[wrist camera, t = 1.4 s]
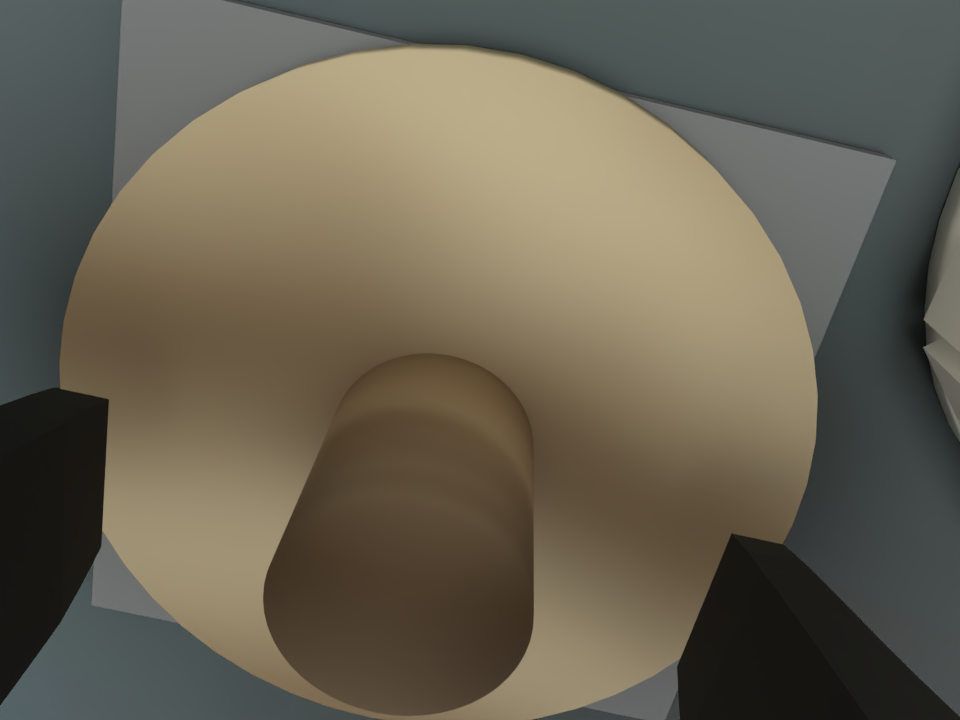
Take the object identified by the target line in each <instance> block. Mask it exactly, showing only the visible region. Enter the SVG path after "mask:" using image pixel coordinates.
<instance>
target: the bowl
mask: <svg viewBox="0 0 960 720" xmlns="http://www.w3.org/2000/svg"><path fill="white" fill-rule="evenodd" d="M923 320H924V321H925V327H926V346H925V347H923V349H924V351H925V353H926V355H927V357H928V359H929V363H930V368H931V373H932V378H933V382H934V387H935V390H936V393H937V396H938V398H939V401H940V403H941V406H942V408H943V411H944V413H945V416H946V419H947V421H948V424H949V425H950V427H951V429H952V430H953V432H954V434H955V435H956V437H957V439H958V440H959V442H960V167H959V169H958V171H957V174H956V176H955V179H954V182H953V184H952V187H951V190H950V192H949V195H948V198H947V200H946V203H945V206H944V208H943V211H942V214H941V216H940V219H939V223H938V228H937V232H936V236H935V240H934V245H933V249H932V253H931V257H930V262H929V267H928V278H927V288H926V299H925V317H924V319H923Z"/></svg>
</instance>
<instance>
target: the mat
mask: <svg viewBox="0 0 960 720" xmlns="http://www.w3.org/2000/svg"><path fill="white" fill-rule="evenodd" d="M405 44H419V43H415V42H411V41H406V40H402V39H398V38H394V37H389V36H385V35H381V34H377V33H373V32H368V31H364V30H360V29H356V28H352V27H347V26H343V25H339V24H335V23H330V22H326V21H322V20H318V19H314V18H309V17H305V16H301V15H297V14H293V13H288V12H284V11H280V10H276V9H272V8H267V7H263V6H259V5H255V4H250V3H246V2H242V1H238V0H122V10H121V30H120V50H119V70H118V90H117V110H116V130H115V149H114V169H113V189H112V203H113V202H114V200H115V198H116V197H117V195H118V194H119V192H120V191H121V190H122V189H123V187H124V186H125V185H126V184H127V183H128V182H129V181H130V180H131V178H132V177H133V176H134V175H135V174H136V173H137V172H138V170H139V169H140V168H141V167H142V166H143V165H144V164H145V162H146V161H147V160H148V159H149V158H150V157H151V156H152V154H154V153H155V152H156V151H157V150H158V149H160V148H161V147H162V146H163V145H164V144H165V143H167V142H168V141H169V140H170V139H171V138H173V137H174V136H175V135H176V134H177V133H179V132H180V131H181V130H182V129H183V128H185V127H186V126H187V125H188V124H189V123H191V122H192V121H193V120H195V119H196V118H198V117H200V116H201V115H203V114H205V113H206V112H208V111H210V110H211V109H213V108H215V107H216V106H218V105H220V104H221V103H223V102H225V101H226V100H228V99H229V98H231V97H233V96H234V95H236V94H238V93H240V92H242V91H244V90H246V89H249V88H251V87H253V86H255V85H257V84H260V83H262V82H264V81H267V80H269V79H271V78H274V77H276V76H279V75H281V74H283V73H286V72H288V71H290V70H293V69H295V68H298V67H300V66H302V65H305V64H307V63H310V62H314V61H318V60H322V59H325V58H329V57H333V56H337V55H341V54H345V53H349V52H352V51H356V50H361V49H370V48H378V47H387V46H396V45H405ZM616 91H617V90H616ZM618 92H620V93H622V94H623V95H625V96H626V97H628V98H629V99H631V100H632V101H634V102H636V103H637V104H639V105H640V106H642V107H643V108H645V109H646V110H648V111H649V112H651V113H652V114H654V115H655V116H657V117H658V118H660V119H661V120H663V121H664V122H666V123H667V124H668V125H669V126H670V127H671V128H673V129H674V130H675V131H676V132H677V133H678V134H679V135H681V136H682V137H683V138H684V139H685V140H686V141H687V142H689V143H690V144H691V145H692V146H693V147H694V148H695V149H697V150H698V151H699V152H700V153H701V154H702V155H703V156H704V157H705V158H706V159H707V160H708V161H709V162H710V163H711V165H712V166H713V167H714V168H715V169H716V170H717V171H718V173H719V174H720V175H721V176H722V177H723V178H724V180H725V181H726V182H727V183H728V184H729V185H730V187H731V188H732V189H733V190H734V191H735V193H736V194H737V195H738V196H739V197H740V198H741V200H742V201H743V202H744V203H745V204H746V205H747V207H748V208H749V209H750V210H751V211H752V212H753V214H754V215H755V217H756V219H757V220H758V222H759V223H760V225H761V227H762V228H763V230H764V231H765V233H766V235H767V236H768V238H769V239H770V241H771V243H772V244H773V246H774V247H775V249H776V251H777V252H778V254H779V255H780V257H781V259H782V261H783V264H784V266H785V268H786V271H787V273H788V275H789V277H790V280H791V282H792V284H793V287H794V289H795V291H796V294H797V296H798V298H799V301H800V303H801V306H802V310H803V314H804V318H805V322H806V325H807V329H808V333H809V337H810V341H811V344H812V348H813V355H814V359H815V356H816V354H817V352H818V349H819V347H820V344H821V342H822V340H823V337H824V335H825V332H826V330H827V327H828V325H829V323H830V320H831V318H832V315H833V313H834V310H835V308H836V306H837V303H838V301H839V298H840V296H841V294H842V291H843V289H844V286H845V284H846V281H847V279H848V277H849V274H850V272H851V269H852V267H853V265H854V262H855V260H856V257H857V255H858V252H859V250H860V248H861V245H862V243H863V240H864V238H865V236H866V233H867V231H868V228H869V226H870V223H871V221H872V219H873V216H874V214H875V211H876V209H877V206H878V204H879V202H880V199H881V197H882V194H883V192H884V190H885V187H886V185H887V182H888V180H889V177H890V175H891V173H892V170H893V168H894V165H895V163H896V161H897V160H895V159H893V158H891V157H889V156H888V155H886V154H882V153H878V152H874V151H870V150H865V149H861V148H857V147H853V146H849V145H844V144H840V143H836V142H832V141H827V140H823V139H819V138H815V137H811V136H806V135H802V134H798V133H794V132H790V131H785V130H781V129H777V128H773V127H768V126H764V125H760V124H756V123H752V122H747V121H743V120H739V119H735V118H731V117H726V116H722V115H718V114H714V113H710V112H705V111H701V110H697V109H693V108H688V107H684V106H680V105H676V104H672V103H667V102H663V101H659V100H655V99H651V98H646V97H642V96H638V95H634V94H630V93H625V92H621V91H618ZM92 605H93V606H98V607H103V608H108V609H112V610H117V611H122V612H127V613H132V614H136V615H141V616H146V617H151V618H156V619H161V620H165V621H170V622H175V623H178V622H177V621H176V620H175V619H174V618H173V617H172V616H171V615H170V614H169V613H168V612H167V611H166V610H165V609H164V608H162V607H161V606H160V605H159V604H158V603H157V602H156V601H155V600H154V599H153V598H152V597H151V596H150V594H149V593H148V592H147V591H146V590H145V588H144V587H143V586H142V585H141V584H140V582H139V581H138V580H137V579H136V578H135V576H134V575H133V574H132V573H131V572H130V571H129V569H128V568H127V567H126V566H125V564H124V563H123V561H122V560H121V558H120V557H119V555H118V554H117V552H116V551H115V549H114V548H113V546H112V544H111V543H110V541H109V540H108V538H107V537H106V535H105V534H104V532H103V531H102V543H101V549H100V550H99V552H98V554H97V556H96V558H95V560H94V567H93V587H92ZM679 660H680V659H679ZM679 660H677V661H676V662H674V663H673V664H671V665H669V666H668V667H666V668H665V669H663V670H662V671H660V672H659V673H657V674H655V675H654V676H652V677H650V678H648V679H646V680H644V681H642V682H640V683H638V684H636V685H634V686H632V687H630V688H628V689H626V690H624V691H622V692H620V693H618V694H616V695H613V696H610V697H608V698H605V699H602V700H599V701H597V702H594V703H591V704H588V705H586V706H583V707H585V708H590V709H594V710H599V711H604V712H609V713H614V714H619V715H623V716H628V717H633V718H638V719H643V720H665V719H666V717H667V714H668V712H669V710H670V707H671V705H672V702H673V700H674V698H675V695H676V693H677V690H678V676H677V665H678V663H679Z"/></svg>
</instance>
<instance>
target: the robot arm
mask: <svg viewBox="0 0 960 720" xmlns="http://www.w3.org/2000/svg"><path fill="white" fill-rule="evenodd" d="M108 408H109V399H106V398H101V397H97V396H92V395H87V394H83V393H78V392H73V391H69V390H64V389H59V388H51V389H48V390H44V391H41V392H38V393H35V394H32V395H29V396H26V397H23V398H20V399H17V400H14V401H12V402H9V403H6V404H4V405H1V406H0V705H1V704H2V702H3V701H4V699H5V698H6V697H7V695H8V694H9V693H10V691H11V690H12V689H13V687H14V686H15V685H16V683H17V682H18V680H19V679H20V678H21V676H22V675H23V674H24V672H25V671H26V669H27V668H28V667H29V665H30V664H31V663H32V661H33V660H34V658H35V657H36V656H37V654H38V653H39V651H40V650H41V649H42V647H43V646H44V645H45V643H46V642H47V640H48V639H49V638H50V636H51V635H52V633H53V632H54V631H55V629H56V628H57V626H58V625H59V623H60V622H61V620H62V618H63V617H64V615H65V613H66V611H67V610H68V608H69V606H70V604H71V602H72V601H73V599H74V597H75V595H76V594H77V592H78V590H79V588H80V586H81V585H82V583H83V581H84V579H85V577H86V575H87V573H88V571H89V569H90V567H91V566H92V564H93V562H94V560H95V558H96V556H97V554H98V552H99V550H100V549H101V543H102V524H103V504H104V485H105V466H106V447H107V428H108ZM677 676H678V692H679V709H680V720H960V717H959V716H958V715H957V714H956V713H955V712H954V711H953V710H952V709H951V708H950V707H949V706H948V705H947V704H945V703H944V702H943V701H942V700H941V699H940V698H939V697H938V696H937V695H936V694H935V693H934V692H933V691H932V690H931V689H930V688H929V687H928V686H927V685H926V684H925V683H924V682H922V681H921V680H920V679H919V678H918V677H917V676H916V675H915V674H914V673H913V672H912V671H911V670H910V669H909V668H908V667H907V666H906V665H905V664H904V663H903V662H902V661H901V660H900V659H899V658H898V657H897V656H896V655H895V654H894V653H893V652H892V651H891V650H890V649H889V648H888V647H887V646H886V645H885V644H884V643H883V642H882V641H881V640H880V639H879V638H878V637H877V636H876V635H875V634H874V633H873V632H872V631H871V630H870V629H869V628H868V627H867V626H866V625H865V624H864V623H863V622H862V621H861V620H860V619H859V618H858V617H857V615H856V614H855V613H854V612H853V611H852V610H851V609H850V608H849V607H848V606H847V605H846V604H845V603H844V602H843V601H842V600H841V599H840V598H839V597H838V596H837V595H836V594H835V593H834V592H833V591H832V590H831V589H830V588H829V587H828V586H827V585H826V584H825V583H824V582H823V581H822V580H821V579H820V578H819V577H818V576H817V575H816V574H815V573H814V572H813V571H812V570H811V569H810V568H809V567H808V566H807V565H806V564H805V563H803V562H802V561H801V560H800V559H799V558H798V557H797V556H796V555H795V554H794V553H792V552H791V551H790V550H789V549H788V548H787V547H785V546H784V545H783V544H779V543H774V542H770V541H765V540H760V539H756V538H751V537H746V536H742V535H737V534H733V533H732V534H731V536H730V538H729V541H728V543H727V546H726V548H725V551H724V553H723V556H722V558H721V560H720V563H719V565H718V568H717V570H716V573H715V575H714V578H713V580H712V582H711V585H710V587H709V590H708V592H707V595H706V597H705V599H704V602H703V604H702V607H701V609H700V612H699V614H698V617H697V619H696V621H695V624H694V626H693V629H692V631H691V634H690V636H689V639H688V641H687V643H686V646H685V648H684V651H683V653H682V656H681V658H680V660H679V663H678V665H677Z"/></svg>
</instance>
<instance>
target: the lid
mask: <svg viewBox="0 0 960 720" xmlns="http://www.w3.org/2000/svg"><path fill="white" fill-rule="evenodd" d="M59 369H60V389H64V390H69V391H73V392H78V393H83V394H87V395H92V396H97V397H101V398H106V399H109V408H108V428H107V447H106V466H105V485H104V504H103V524H102V531H103V532H104V534H105V535H106V537H107V538H108V540H109V541H110V543H111V544H112V546H113V548H114V549H115V551H116V552H117V554H118V555H119V557H120V558H121V560H122V561H123V563H124V564H125V566H126V567H127V568H128V569H129V571H130V572H131V573H132V574H133V575H134V576H135V578H136V579H137V580H138V581H139V582H140V584H141V585H142V586H143V587H144V588H145V590H146V591H147V592H148V593H149V594H150V596H151V597H152V598H153V599H154V600H155V601H156V602H157V603H158V604H159V605H160V606H161V607H162V608H164V609H165V610H166V611H167V612H168V613H169V614H170V615H171V616H172V617H173V618H174V619H175V620H176V621H177V622H178V623H179V624H180V625H181V626H182V627H184V628H185V629H186V630H188V631H189V632H190V633H191V634H193V635H194V636H195V637H197V638H198V639H199V640H201V641H202V642H203V643H204V644H206V645H207V646H208V647H210V648H211V649H212V650H214V651H215V652H216V653H218V654H219V655H221V656H223V657H224V658H226V659H228V660H229V661H231V662H233V663H234V664H236V665H237V666H239V667H241V668H242V669H244V670H246V671H247V672H249V673H250V674H252V675H254V676H256V677H258V678H260V679H262V680H265V681H267V682H269V683H271V684H273V685H275V686H277V687H279V688H281V689H283V690H285V691H287V692H289V693H292V694H295V695H298V696H300V697H303V698H306V699H308V700H311V701H314V702H317V703H319V704H322V705H325V706H328V707H331V708H335V709H339V710H343V711H346V712H350V713H354V714H358V715H362V716H366V717H370V718H376V719H382V720H532V719H538V718H542V717H546V716H550V715H554V714H558V713H562V712H566V711H570V710H574V709H577V708H580V707H583V706H586V705H588V704H591V703H594V702H597V701H599V700H602V699H605V698H608V697H610V696H613V695H616V694H618V693H620V692H622V691H624V690H626V689H628V688H630V687H632V686H634V685H636V684H638V683H640V682H642V681H644V680H646V679H648V678H650V677H652V676H654V675H655V674H657V673H659V672H660V671H662V670H663V669H665V668H666V667H668V666H669V665H671V664H673V663H674V662H676V661H677V660H679V659H680V658H681V656H682V653H683V651H684V648H685V646H686V643H687V641H688V639H689V636H690V634H691V631H692V629H693V626H694V624H695V621H696V619H697V617H698V614H699V612H700V609H701V607H702V604H703V602H704V599H705V597H706V595H707V592H708V590H709V587H710V585H711V582H712V580H713V578H714V575H715V573H716V570H717V568H718V565H719V563H720V560H721V558H722V556H723V553H724V551H725V548H726V546H727V543H728V541H729V538H730V536H731V534H732V533H733V534H737V535H742V536H746V537H751V538H756V539H760V540H765V541H770V542H774V543H779V544H783V542H784V540H785V538H786V536H787V535H788V533H789V531H790V529H791V527H792V525H793V522H794V520H795V517H796V514H797V511H798V508H799V506H800V503H801V500H802V497H803V494H804V492H805V489H806V486H807V482H808V477H809V472H810V467H811V462H812V457H813V452H814V447H815V442H816V424H817V403H818V393H817V384H816V374H815V365H814V355H813V348H812V344H811V341H810V337H809V333H808V329H807V325H806V322H805V318H804V314H803V310H802V306H801V303H800V301H799V298H798V296H797V294H796V291H795V289H794V287H793V284H792V282H791V280H790V277H789V275H788V273H787V271H786V268H785V266H784V264H783V261H782V259H781V257H780V255H779V254H778V252H777V251H776V249H775V247H774V246H773V244H772V243H771V241H770V239H769V238H768V236H767V235H766V233H765V231H764V230H763V228H762V227H761V225H760V223H759V222H758V220H757V219H756V217H755V215H754V214H753V212H752V211H751V210H750V209H749V208H748V207H747V205H746V204H745V203H744V202H743V201H742V200H741V198H740V197H739V196H738V195H737V194H736V193H735V191H734V190H733V189H732V188H731V187H730V185H729V184H728V183H727V182H726V181H725V180H724V178H723V177H722V176H721V175H720V174H719V173H718V171H717V170H716V169H715V168H714V167H713V166H712V165H711V163H710V162H709V161H708V160H707V159H706V158H705V157H704V156H703V155H702V154H701V153H700V152H699V151H698V150H697V149H695V148H694V147H693V146H692V145H691V144H690V143H689V142H687V141H686V140H685V139H684V138H683V137H682V136H681V135H679V134H678V133H677V132H676V131H675V130H674V129H673V128H671V127H670V126H669V125H668V124H667V123H666V122H664V121H663V120H661V119H660V118H658V117H657V116H655V115H654V114H652V113H651V112H649V111H648V110H646V109H645V108H643V107H642V106H640V105H639V104H637V103H636V102H634V101H632V100H631V99H629V98H628V97H626V96H625V95H623V94H622V93H620V92H618V91H616V90H614V89H612V88H609V87H607V86H605V85H603V84H601V83H599V82H597V81H595V80H593V79H590V78H588V77H586V76H584V75H582V74H580V73H578V72H576V71H573V70H571V69H567V68H564V67H561V66H558V65H555V64H552V63H548V62H545V61H542V60H539V59H536V58H532V57H529V56H526V55H523V54H518V53H512V52H506V51H500V50H494V49H488V48H482V47H476V46H470V45H450V44H405V45H396V46H387V47H378V48H370V49H361V50H356V51H352V52H349V53H345V54H341V55H337V56H333V57H329V58H325V59H322V60H318V61H314V62H310V63H307V64H305V65H302V66H300V67H298V68H295V69H293V70H290V71H288V72H286V73H283V74H281V75H279V76H276V77H274V78H271V79H269V80H267V81H264V82H262V83H260V84H257V85H255V86H253V87H251V88H249V89H246V90H244V91H242V92H240V93H238V94H236V95H234V96H233V97H231V98H229V99H228V100H226V101H225V102H223V103H221V104H220V105H218V106H216V107H215V108H213V109H211V110H210V111H208V112H206V113H205V114H203V115H201V116H200V117H198V118H196V119H195V120H193V121H192V122H191V123H189V124H188V125H187V126H186V127H185V128H183V129H182V130H181V131H180V132H179V133H177V134H176V135H175V136H174V137H173V138H171V139H170V140H169V141H168V142H167V143H165V144H164V145H163V146H162V147H161V148H160V149H158V150H157V151H156V152H155V153H154V154H152V156H151V157H150V158H149V159H148V160H147V161H146V162H145V164H144V165H143V166H142V167H141V168H140V169H139V170H138V172H137V173H136V174H135V175H134V176H133V177H132V178H131V180H130V181H129V182H128V183H127V184H126V185H125V186H124V187H123V189H122V190H121V191H120V192H119V194H118V195H117V197H116V198H115V200H114V202H113V203H112V205H111V206H110V208H109V210H108V211H107V213H106V214H105V216H104V217H103V219H102V221H101V222H100V224H99V225H98V227H97V228H96V230H95V232H94V233H93V236H92V238H91V240H90V243H89V245H88V247H87V250H86V252H85V254H84V257H83V259H82V261H81V263H80V266H79V268H78V270H77V273H76V275H75V279H74V282H73V286H72V290H71V294H70V298H69V302H68V305H67V309H66V313H65V317H64V323H63V332H62V342H61V352H60V362H59Z"/></svg>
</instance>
